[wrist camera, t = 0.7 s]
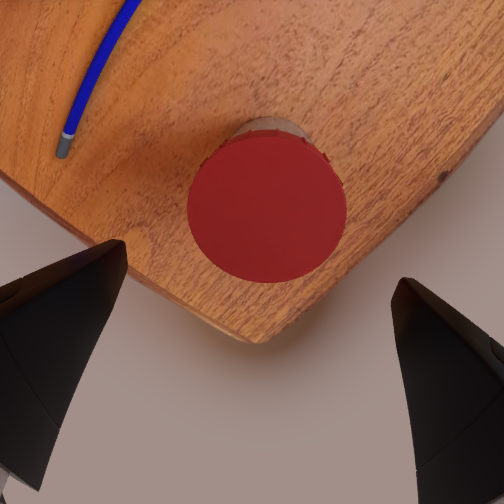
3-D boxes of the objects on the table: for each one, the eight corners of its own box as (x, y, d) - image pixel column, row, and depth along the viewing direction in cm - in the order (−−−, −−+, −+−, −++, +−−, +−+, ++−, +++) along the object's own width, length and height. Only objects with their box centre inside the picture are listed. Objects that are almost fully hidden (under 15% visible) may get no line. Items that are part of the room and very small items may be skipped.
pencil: (67, 158, 21) (60, 161, 20) (59, 153, 20) (52, 156, 20) (176, -44, 13) (171, -49, 12) (165, -47, 13) (160, -52, 12)
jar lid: (352, 141, 12) (364, 150, 11) (322, 269, 16) (327, 292, 14) (201, 120, 12) (189, 126, 11) (194, 253, 16) (185, 274, 14)
